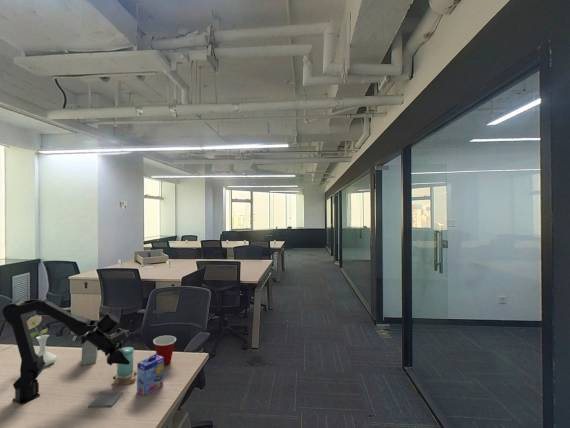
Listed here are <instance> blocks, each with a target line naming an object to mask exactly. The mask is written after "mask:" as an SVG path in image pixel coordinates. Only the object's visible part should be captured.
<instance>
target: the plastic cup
mask: <svg viewBox="0 0 570 428" xmlns="http://www.w3.org/2000/svg"><path fill="white" fill-rule="evenodd" d="M152 341H153V344H154V348H155V349H154V350H155V354H157V355H159V356H162V357H164V367H166V366H168V365H170V364H171V362H172V357H173V352H174V347H175V343H176V341H177V337H176V336H173V335H160V336H157V337H156V338H154V339H153V340H152Z"/></svg>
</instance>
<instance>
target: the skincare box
mask: <svg viewBox="0 0 570 428" xmlns="http://www.w3.org/2000/svg"><path fill="white" fill-rule="evenodd" d="M96 328H97V327H96ZM87 333H88V332H87ZM87 333H86V334H87ZM86 334H84V335H86ZM84 335H82V336H84ZM81 345H82V346H81V358H80V359H81V360H80V361H81V363H80V365H81V366H87V365H93V364H96V363H97V359H98V355H99V353H98V352H99V351H98V350H97V347H95V346H94V345H92V344H91V343H90V342H88V341H86V342H85V343H84V344H81Z"/></svg>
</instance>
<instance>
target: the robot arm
mask: <svg viewBox="0 0 570 428" xmlns="http://www.w3.org/2000/svg"><path fill="white" fill-rule="evenodd" d="M35 311H38V312H40V313H43V314H44V315H46V316H49V317H50V318H52V319H55V320H56V321H58V322H60V323H62V324H64V326H66V328H67V329H68V330H69V331H71V332H72V333H73V334H74V336H75V335H76V336H77V337H78V336H79V337H81V338H80V339H81V343H80V344H81V345H82V344H84V343H85V342H86V341H88V342H90V343H91V344H92V345H94V346H95V347H97V350H98V352H99V351H101V352H103V353H104V356H105V357H106V364H108V365H109V366H112V365H113V364H116V365H117V364H126V365H128V364H129V363H130V362H129V361H128V359H127V358H126V357H125V356H124V355H123V349H122V350H121V348H123V345H122V344H123V343H122V341H124V340H127V339H128V338H129V335H128V333H127V332H126V329H125V328H121V327H118V328H115V327H117V326H118V324H120V319H119V318H118V317H117V316H116V315H113V314H112V313H109V312H106V313H105V314H104V316H103V317H102V318H100V319H99V320H97V319H90V318H88V317H85V316H82V315H76V314H73V313H71V311H70V312H69V311H67V310H66V309H64V308H62V307H60V306H58V305H56V304H55V303H53V302H51V301H49V300H48V299H47V298H44V297H41V298H38V299H28V300H22V299H18V300H14V301H12V302H9V304H8V303H7V304H6V306H4V308H3V309H2V311H1V315H2V316H3V318H4V320H5V321H6V322H7V324H9V325H10V326H11V329H12V331H13V335H14V336H13V337H14V339H15V342H16V345H17V349H18V353H19V357H20V360H21V362H20V368H19V372H20V376H19V377H18V378H17V380H15V382H14V383H12V386H13V388H14V395H15V396H14V398H13V399H12V401H13V402H15V403H17V404H21V405H24V404H26V403H27V402H29V401H32V400H34V399H36V398H38V397H40V396H41V393H39V389H40V387H39V386H40V384H39V382H38V379H37V378H38V377H39V376H40V375H41V373H42V372H43V371H44V370H45V366H44V365H45V364H46V363H45V362H44V359H43V355H42V356H38V355H37V354H38V353H36V349H35V346H34V343H33V340H32V337H31V335H30V334H31V332H30V329H29V328H28V325H27V321H28V315H29V314H28V313H31V312H35ZM96 327H97V328H96ZM113 329H116V330H115V333H114V334H113V335H110V334H109V333H110V332H111V331H113ZM87 332H88V333H87ZM86 333H87V334H86ZM107 333H108V334H107ZM84 334H86V335H84ZM83 335H84V336H83Z"/></svg>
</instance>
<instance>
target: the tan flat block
mask: <svg viewBox="0 0 570 428" xmlns="http://www.w3.org/2000/svg"><path fill="white" fill-rule="evenodd" d="M136 376H137V371H136V370H133V372H132V373H131V374H129V375H127V376H118V375H117V373H116V374H115V375H113V376H112V380H114V381H113V387H118V386H123V385H128V384H134V383H135V382H136V381H135V380H136Z"/></svg>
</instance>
